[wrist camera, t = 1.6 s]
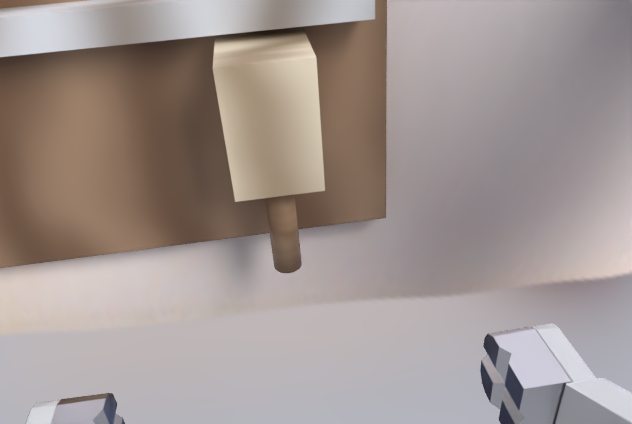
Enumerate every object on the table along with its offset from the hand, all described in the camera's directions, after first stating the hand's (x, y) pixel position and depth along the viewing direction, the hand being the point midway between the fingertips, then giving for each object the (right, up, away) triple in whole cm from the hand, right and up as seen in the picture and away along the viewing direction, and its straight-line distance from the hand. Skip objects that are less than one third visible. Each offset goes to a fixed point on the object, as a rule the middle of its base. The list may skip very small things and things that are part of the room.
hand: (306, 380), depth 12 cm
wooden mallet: (-2, +7, +16) cm, 18 cm away
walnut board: (-7, +9, +16) cm, 20 cm away
